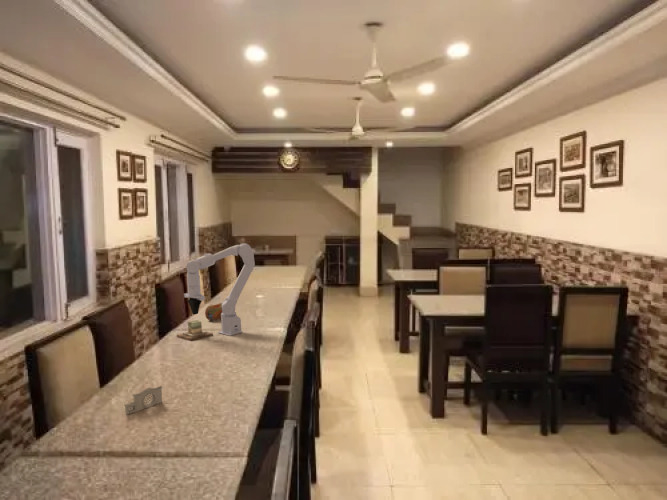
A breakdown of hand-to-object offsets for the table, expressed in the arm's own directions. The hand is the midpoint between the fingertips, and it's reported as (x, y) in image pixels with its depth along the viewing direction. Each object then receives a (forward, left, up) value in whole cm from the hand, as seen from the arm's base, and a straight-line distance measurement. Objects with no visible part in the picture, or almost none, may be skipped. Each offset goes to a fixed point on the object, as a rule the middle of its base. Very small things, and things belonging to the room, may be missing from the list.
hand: (195, 314), depth 236 cm
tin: (+21, -27, -11) cm, 36 cm away
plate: (-1, +1, -10) cm, 10 cm away
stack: (-1, +1, -9) cm, 9 cm away
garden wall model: (-63, +58, -11) cm, 86 cm away
